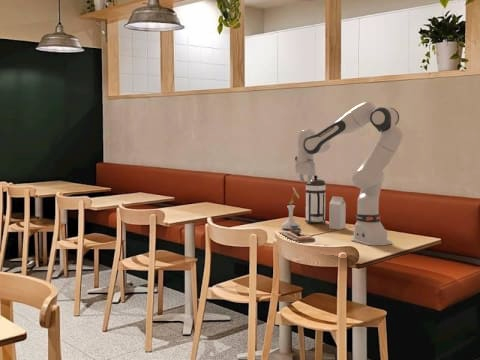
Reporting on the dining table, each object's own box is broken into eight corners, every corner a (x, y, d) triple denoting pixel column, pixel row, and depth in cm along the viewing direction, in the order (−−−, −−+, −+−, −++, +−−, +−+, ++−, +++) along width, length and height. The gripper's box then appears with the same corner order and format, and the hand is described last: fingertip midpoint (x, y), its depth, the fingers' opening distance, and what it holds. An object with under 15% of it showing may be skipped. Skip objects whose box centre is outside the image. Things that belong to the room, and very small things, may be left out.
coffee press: (297, 223, 373) (297, 175, 370) (314, 220, 384) (314, 173, 381) (318, 226, 361) (319, 177, 358) (335, 223, 371) (335, 175, 368)
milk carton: (339, 230, 349) (340, 197, 347) (329, 228, 353) (329, 196, 351) (345, 228, 354) (345, 196, 352) (334, 227, 359) (335, 195, 357)
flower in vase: (295, 231, 345) (296, 188, 343) (278, 229, 351) (278, 187, 348) (304, 227, 356) (304, 186, 354) (287, 226, 362) (287, 185, 360)
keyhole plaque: (310, 238, 316) (310, 229, 315) (298, 239, 314) (298, 230, 313) (298, 233, 332) (298, 224, 331) (286, 233, 330) (286, 224, 329)
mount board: (314, 241, 317) (314, 233, 316) (293, 242, 313) (294, 234, 313) (298, 233, 338) (298, 226, 337) (279, 235, 334) (279, 227, 334)
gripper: (318, 159, 326) (318, 184, 327) (303, 157, 345) (303, 180, 346) (307, 159, 324) (307, 184, 325) (293, 157, 343) (293, 181, 345)
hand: (305, 182), depth 336 cm, fingers open, 8 cm apart
